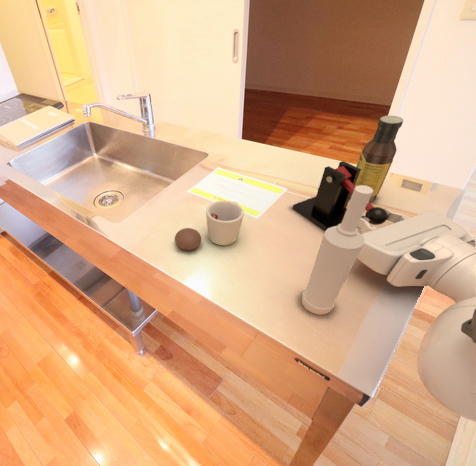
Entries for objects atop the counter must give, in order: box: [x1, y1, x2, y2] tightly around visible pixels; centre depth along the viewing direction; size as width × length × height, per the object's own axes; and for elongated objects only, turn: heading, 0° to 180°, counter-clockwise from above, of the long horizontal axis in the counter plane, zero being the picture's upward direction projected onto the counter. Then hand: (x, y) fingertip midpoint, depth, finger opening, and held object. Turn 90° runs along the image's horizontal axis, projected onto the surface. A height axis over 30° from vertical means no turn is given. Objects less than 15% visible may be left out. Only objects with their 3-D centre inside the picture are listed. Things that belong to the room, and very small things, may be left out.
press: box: [292, 160, 361, 232], centre depth 72 cm, size 12×9×13 cm
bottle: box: [301, 185, 373, 316], centre depth 50 cm, size 5×5×25 cm
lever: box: [334, 166, 388, 226], centre depth 67 cm, size 14×4×4 cm, turn 21°
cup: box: [205, 200, 245, 246], centre depth 73 cm, size 11×8×8 cm
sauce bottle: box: [350, 115, 404, 203], centre depth 73 cm, size 6×6×20 cm
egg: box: [174, 227, 202, 251], centre depth 73 cm, size 6×6×4 cm
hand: (369, 215), depth 65 cm, fingers open, 4 cm apart
